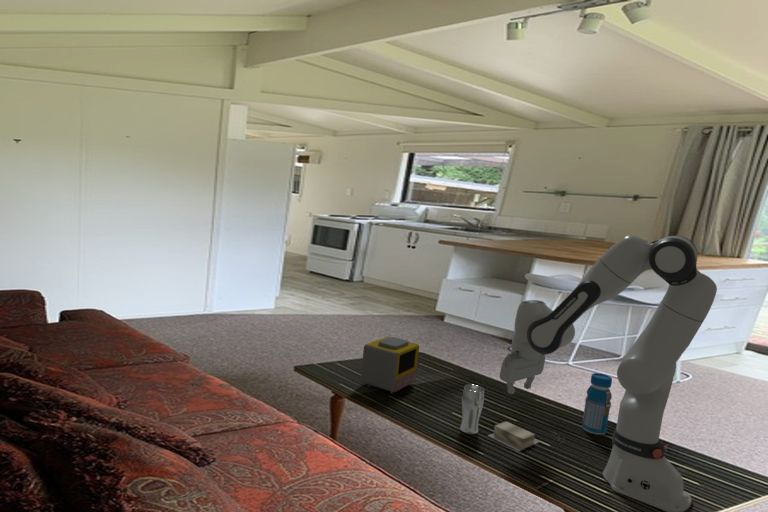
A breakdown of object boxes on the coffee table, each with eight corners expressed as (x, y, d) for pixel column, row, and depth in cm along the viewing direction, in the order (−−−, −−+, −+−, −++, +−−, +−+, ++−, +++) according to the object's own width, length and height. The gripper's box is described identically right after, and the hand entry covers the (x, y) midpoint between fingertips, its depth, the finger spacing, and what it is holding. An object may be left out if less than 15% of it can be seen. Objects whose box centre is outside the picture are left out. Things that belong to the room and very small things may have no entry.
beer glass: (479, 437, 166) (485, 393, 165) (457, 433, 168) (463, 389, 166) (479, 429, 173) (485, 386, 172) (458, 425, 174) (464, 382, 173)
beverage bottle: (586, 434, 178) (594, 378, 176) (577, 423, 186) (585, 370, 184) (610, 436, 178) (619, 381, 176) (600, 426, 186) (609, 373, 184)
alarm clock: (393, 398, 193) (398, 350, 191) (358, 386, 201) (363, 341, 199) (417, 384, 210) (422, 341, 208) (384, 374, 218) (388, 332, 216)
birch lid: (533, 443, 165) (535, 434, 165) (522, 448, 161) (523, 439, 160) (505, 429, 173) (506, 421, 173) (493, 434, 169) (494, 425, 168)
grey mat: (539, 443, 167) (539, 441, 167) (518, 452, 159) (519, 451, 159) (508, 429, 176) (508, 427, 175) (487, 437, 167) (487, 435, 167)
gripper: (515, 356, 155) (509, 400, 156) (550, 348, 168) (544, 388, 170) (498, 350, 159) (492, 392, 161) (533, 343, 173) (527, 382, 175)
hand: (519, 390), depth 165 cm, fingers open, 8 cm apart
